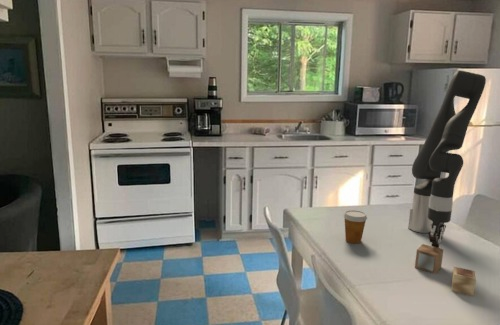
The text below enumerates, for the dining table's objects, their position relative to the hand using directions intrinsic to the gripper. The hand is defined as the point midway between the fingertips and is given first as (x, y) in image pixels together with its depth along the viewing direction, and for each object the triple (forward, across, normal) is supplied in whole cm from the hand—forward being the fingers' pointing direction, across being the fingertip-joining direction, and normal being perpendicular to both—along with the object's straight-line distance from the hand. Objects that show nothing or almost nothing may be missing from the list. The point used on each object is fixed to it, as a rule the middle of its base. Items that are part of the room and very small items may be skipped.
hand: (434, 251), depth 138 cm
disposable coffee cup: (+4, +3, -31) cm, 31 cm away
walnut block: (+1, +2, 0) cm, 2 cm away
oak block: (+4, +14, +13) cm, 19 cm away
